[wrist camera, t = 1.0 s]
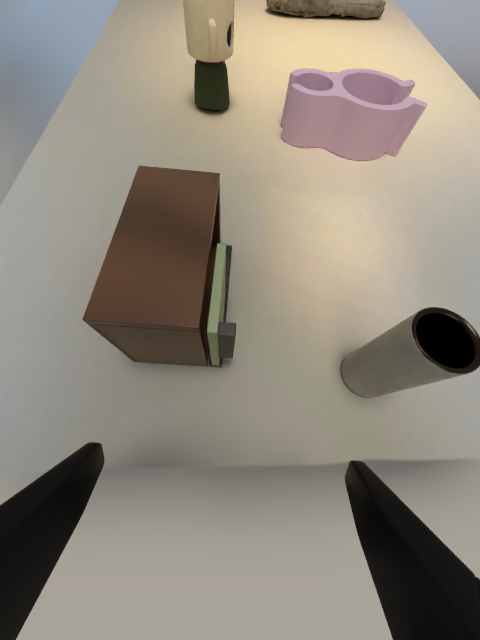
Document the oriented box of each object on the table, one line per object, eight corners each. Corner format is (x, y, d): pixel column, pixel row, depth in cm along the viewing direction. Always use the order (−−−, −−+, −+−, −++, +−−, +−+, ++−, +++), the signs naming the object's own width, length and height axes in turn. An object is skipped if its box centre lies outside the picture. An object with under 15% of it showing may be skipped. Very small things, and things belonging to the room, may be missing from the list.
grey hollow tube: (389, 398, 24) (497, 375, 14) (344, 396, 23) (424, 372, 14) (379, 353, 26) (468, 308, 16) (337, 352, 25) (403, 304, 16)
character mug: (235, 122, 43) (240, 4, 31) (194, 122, 42) (183, 1, 30) (227, 90, 47) (229, -23, 35) (190, 90, 46) (179, -26, 35)
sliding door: (231, 366, 23) (235, 334, 16) (212, 365, 23) (206, 332, 16) (236, 298, 27) (241, 244, 19) (218, 297, 26) (217, 242, 19)
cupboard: (221, 367, 24) (221, 329, 15) (133, 361, 24) (82, 319, 15) (231, 248, 30) (235, 174, 22) (162, 242, 30) (138, 165, 21)
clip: (282, 153, 40) (293, 100, 33) (280, 112, 45) (289, 60, 39) (400, 164, 40) (433, 115, 34) (384, 123, 46) (410, 73, 39)
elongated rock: (384, 29, 71) (370, 19, 75) (396, 0, 66) (380, -9, 71) (270, 15, 64) (261, 5, 69) (274, -19, 60) (265, -28, 64)
